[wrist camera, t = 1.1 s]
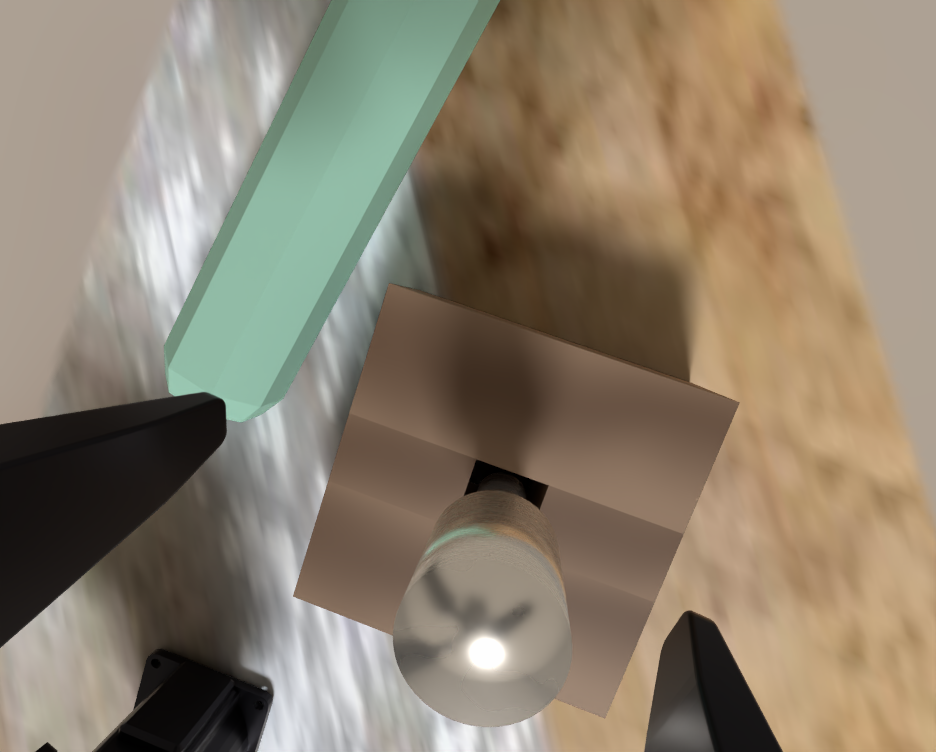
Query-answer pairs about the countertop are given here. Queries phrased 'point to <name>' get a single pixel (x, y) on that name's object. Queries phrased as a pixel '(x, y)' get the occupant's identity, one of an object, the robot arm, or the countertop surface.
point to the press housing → (514, 470)
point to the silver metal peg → (486, 610)
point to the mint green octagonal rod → (317, 194)
